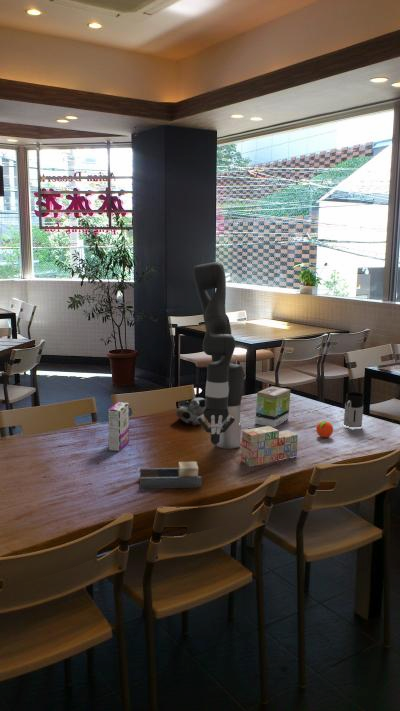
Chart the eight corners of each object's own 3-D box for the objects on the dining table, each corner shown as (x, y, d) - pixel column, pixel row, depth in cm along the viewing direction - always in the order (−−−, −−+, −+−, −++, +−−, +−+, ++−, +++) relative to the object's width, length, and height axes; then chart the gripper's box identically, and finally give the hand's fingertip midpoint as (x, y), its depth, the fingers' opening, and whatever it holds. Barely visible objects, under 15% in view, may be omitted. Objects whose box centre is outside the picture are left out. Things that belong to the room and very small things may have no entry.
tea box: (275, 428, 265) (276, 395, 262) (254, 424, 270) (256, 391, 267) (289, 420, 278) (291, 388, 275) (269, 416, 283) (270, 385, 280)
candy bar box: (117, 441, 243) (117, 401, 240) (129, 442, 242) (129, 402, 239) (107, 450, 232) (107, 409, 229) (120, 451, 231) (120, 410, 228)
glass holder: (365, 426, 272) (368, 393, 269) (354, 434, 260) (357, 400, 257) (346, 422, 276) (348, 390, 273) (335, 430, 264) (337, 397, 261)
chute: (198, 477, 210) (198, 467, 209) (201, 487, 201) (201, 477, 200) (140, 478, 207) (140, 468, 207) (140, 488, 199) (140, 478, 198)
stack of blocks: (286, 452, 236) (288, 422, 234) (296, 458, 231) (298, 427, 228) (240, 461, 226) (242, 429, 223) (250, 467, 220) (251, 434, 218)
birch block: (196, 475, 208) (196, 461, 207) (197, 482, 202) (198, 468, 201) (178, 475, 207) (178, 461, 206) (179, 482, 201) (180, 468, 200)
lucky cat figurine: (183, 415, 280) (198, 389, 278) (203, 429, 275) (219, 403, 273) (168, 414, 266) (184, 387, 264) (189, 429, 261) (205, 402, 259)
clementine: (326, 442, 249) (328, 425, 248) (311, 438, 253) (312, 421, 252) (335, 437, 256) (336, 421, 254) (320, 433, 260) (321, 417, 258)
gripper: (234, 391, 204) (232, 440, 208) (195, 390, 203) (194, 440, 206) (238, 397, 197) (236, 447, 200) (198, 396, 195) (196, 447, 199)
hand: (214, 443), depth 203 cm, fingers closed
